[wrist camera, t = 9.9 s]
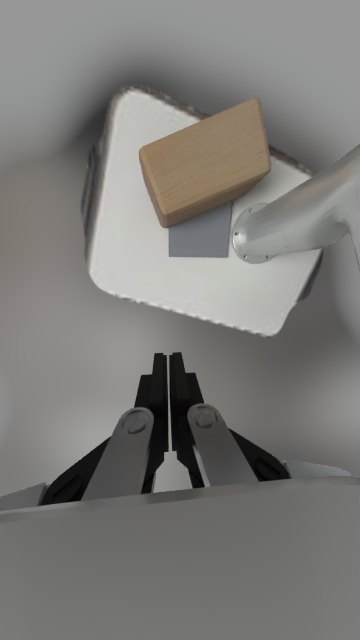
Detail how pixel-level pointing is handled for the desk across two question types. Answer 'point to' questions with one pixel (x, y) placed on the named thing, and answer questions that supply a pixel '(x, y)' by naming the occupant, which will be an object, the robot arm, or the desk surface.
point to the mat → (202, 234)
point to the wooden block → (206, 163)
